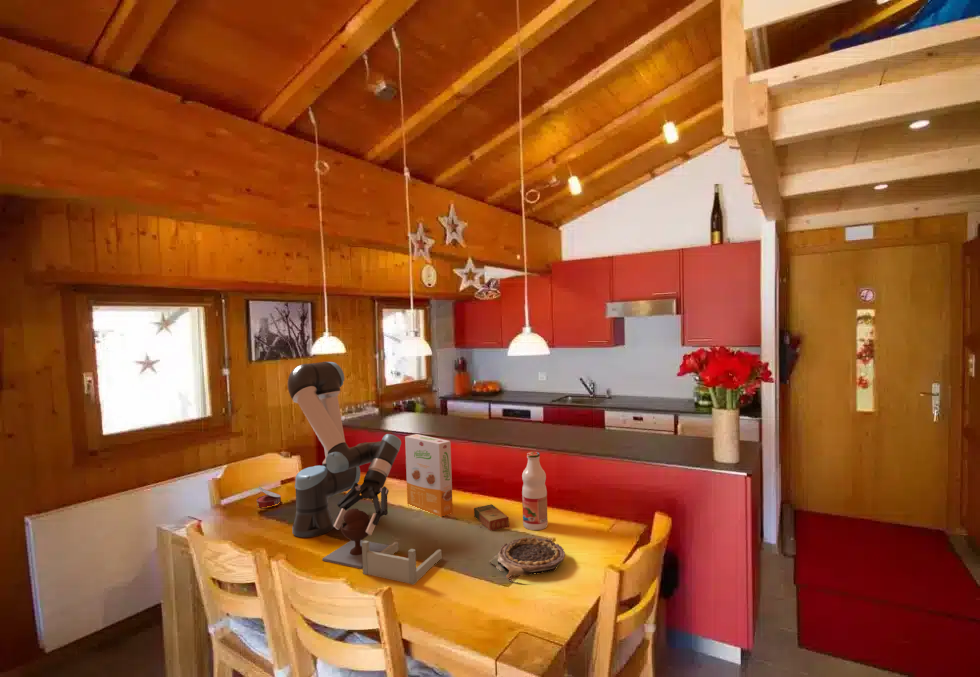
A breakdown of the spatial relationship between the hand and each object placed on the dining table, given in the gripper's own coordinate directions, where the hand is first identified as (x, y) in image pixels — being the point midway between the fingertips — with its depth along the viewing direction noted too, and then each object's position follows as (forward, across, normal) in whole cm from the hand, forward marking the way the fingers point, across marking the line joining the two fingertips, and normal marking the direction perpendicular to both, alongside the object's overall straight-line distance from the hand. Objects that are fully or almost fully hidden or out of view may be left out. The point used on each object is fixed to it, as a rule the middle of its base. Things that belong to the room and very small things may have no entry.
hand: (351, 530), depth 166 cm
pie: (-5, -58, -19) cm, 62 cm away
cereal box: (-27, -2, -40) cm, 48 cm away
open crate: (+5, -20, -7) cm, 22 cm away
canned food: (-13, +70, -27) cm, 76 cm away
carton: (-24, -32, -38) cm, 55 cm away
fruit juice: (-26, -50, -39) cm, 68 cm away
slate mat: (+5, 0, -8) cm, 9 cm away
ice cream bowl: (+4, 0, -8) cm, 9 cm away
